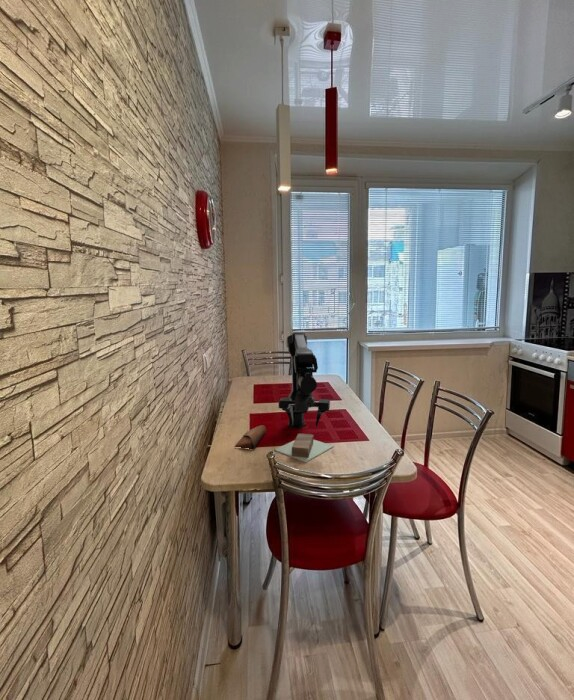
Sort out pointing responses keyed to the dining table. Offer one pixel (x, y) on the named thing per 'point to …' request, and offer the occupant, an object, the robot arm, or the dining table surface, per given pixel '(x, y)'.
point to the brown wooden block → (302, 445)
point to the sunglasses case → (251, 437)
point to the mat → (315, 451)
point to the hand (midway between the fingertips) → (304, 425)
